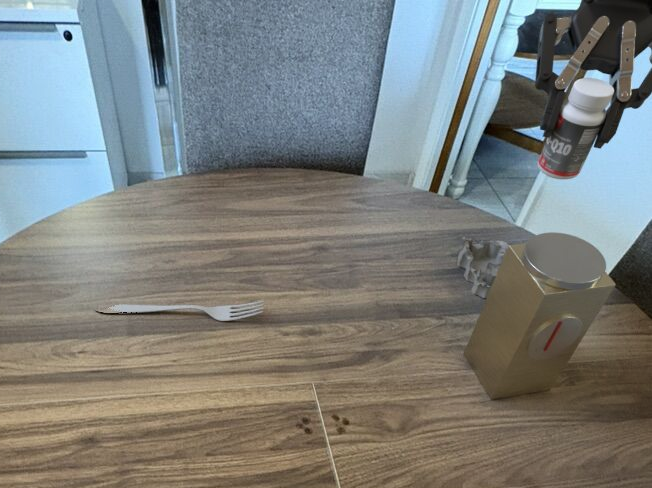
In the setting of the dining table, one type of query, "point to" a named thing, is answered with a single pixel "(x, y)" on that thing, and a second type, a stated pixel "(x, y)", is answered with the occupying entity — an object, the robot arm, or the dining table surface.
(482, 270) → the egg carton
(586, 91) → the pill bottle
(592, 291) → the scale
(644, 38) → the robot arm
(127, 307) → the fork
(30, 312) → the dining table surface
